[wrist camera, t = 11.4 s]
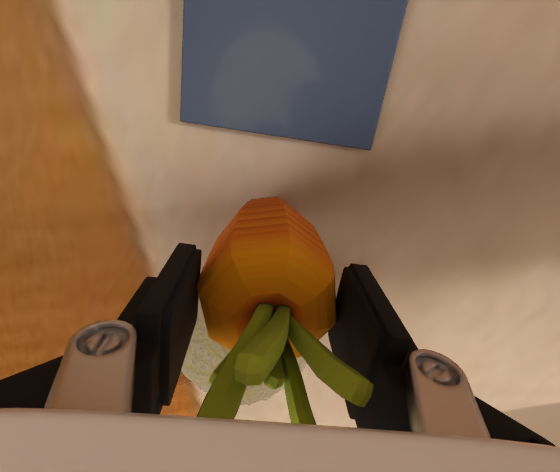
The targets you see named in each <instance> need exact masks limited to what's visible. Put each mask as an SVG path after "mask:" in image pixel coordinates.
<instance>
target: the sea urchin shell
mask: <svg viewBox="0 0 560 472" xmlns="http://www.w3.org/2000/svg"><path fill="white" fill-rule="evenodd" d="M230 351H231V350H229V349H227V348H226V347H224V346H222V345H220V344H219V343H217V342H215V341H213V340H212V339H210V338H209V336H208V332H207V328H206V324H205V319H204V315H203V311H202V307H201V303H200V299H198V314H197V321H196V325H195V328H194V331H193V334H192V338H191V341H190V344H189V347H188V350H187V353H186V356H185V359H184V362H183V366H182V369H181V370H182V373H184V375H185V376H186V377H187V378H188V379H189V380H191V381H192V382H193V383H195V384H196V385H197V386H198V387H199V388H200V389H203V390H204V391H205V392H208V391H209V389H210V387H211V384H210V382H209V378H210V376H211V375H212V373H213V371H214V370H215V369H216V368H217V366H218V365H219V364H220V363H221V362H222V360H223V359H224V358H225V357H226V355H227V354H228V353H229V352H230ZM296 359H297V362H298V365H299V368H300V372H302V370H303V369H304V368H305V365H306V361H305V360H304V358H303V357H298V358H296ZM283 388H285V387H284V382H283V385H282V386H281V387H279V388H277V389H270V388H269V387H267V386H265V385H264V381H263V382H262V384H261V385H253V386H247V388H246V390H245V393H244V396H243V398H242V401H241V404H240V405H244V404H248V405H250V404H252V403H255V402H258V401H261V400H267V398H268V399H269V398H270V397H271V396H272V395H274V394H275V393H277V392H279V391H280V390H282V389H283Z"/></svg>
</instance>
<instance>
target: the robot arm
mask: <svg viewBox="0 0 560 472" xmlns="http://www.w3.org/2000/svg"><path fill="white" fill-rule="evenodd" d="M200 268H201V250H199V249H196V245H191V244H183V243H179V244H178V245H177V247H176V248H175V250H174V252H173V253H172V255H171V256H170V258H169V260H168V261H167V263H166V264H165V266H164V268H163V269H162V271H161V272H160V274H159V275H158V277H157V278H156V277H147V278H146V279H145V280H144V281H143V283H142V284H141V286H140V287H139V289H138V290H137V291H136V293H135V294H134V296H133V297H132V299H131V300H130V302H129V303H128V304H127V306H126V307H125V309H124V310H123V312H122V313H121V315H120V316H119V317H118V319H117V320H103V321H97V322H94V323H91V324H88V325H87V326H85V327H83V328H81V329H79V330H78V331H77V332H76V333H75V334H73V336H72V337H71V339H70V340H69V342H68V345H67V347H66V350H65V353H64V355H63V356H61V357H58V358H56V359H53V360H51V361H48V362H46V363H43V364H41V365H38V366H35V367H33V368H30V369H28V370H25V371H23V372H20V373H17V374H15V375H12V376H10V377H7V378H5V379H2V380H0V472H560V448H559V447H556V446H555V445H554V444H553V443H551V442H549V441H548V440H546V439H545V438H543V437H542V436H540V435H538V434H536V433H535V432H533V431H532V430H530V429H528V428H526V427H525V426H523V425H521V424H520V423H518V422H517V421H515V420H513V419H512V418H510V417H508V416H507V415H505V414H503V413H502V412H500V411H498V410H497V409H495V408H493V407H492V406H490V405H489V404H487V403H485V402H484V401H482V400H480V399H479V398H477V397H475V396H474V395H473V392H472V390H471V387H470V385H469V382H468V380H467V377H466V375H465V374H464V372H463V370H462V369H461V368H460V367H459V366H458V365H457V364H456V363H455V362H453V361H452V360H451V359H449V358H448V357H446V356H444V355H442V354H440V353H437V352H435V351H431V350H426V349H419V350H418V348H417V346H416V345H415V343H414V342H413V340H412V338H411V336H410V335H409V333H408V331H407V330H406V328H405V326H404V325H403V323H402V322H401V320H400V318H399V317H398V315H397V313H396V312H395V310H394V309H393V307H392V305H391V304H390V302H389V300H388V299H387V297H386V296H385V294H384V292H383V291H382V289H381V287H380V286H379V284H378V283H377V281H376V279H375V278H374V276H373V274H372V273H371V271H370V269H369V268H368V266H367V265H359V264H350V265H349V267H345V268H344V269H343V273H342V277H341V281H340V285H339V289H338V293H337V297H336V324H335V325H334V326H333V327H332V328H331V329H330V330H329V331H328V336H329V341H330V345H331V348H332V352H333V354H334V355H335V356H336V357H337V358H339V359H340V360H341V361H343V362H344V363H346V364H347V365H349V366H350V367H352V368H353V369H355V370H356V371H357V372H359V373H360V374H361V375H362V376H364V377H365V378H366V379H367V380H369V381H370V382H371V383H372V384H374V386H373V391H372V395H371V398H370V399H369V401H368V402H367V404H366V405H365V407H361V406H357V405H355V404H353V403H352V402H350V401H348V400H346V399H345V402H346V406H347V410H348V413H349V416H350V418H351V419H355V421H356V425H357V428H351V427H337V426H323V425H309V424H295V423H281V422H266V421H252V420H238V419H222V418H207V417H191V416H176V415H160V412H161V409H162V406H163V405H165V406H169V405H170V403H171V400H172V397H173V394H174V391H175V387H176V384H177V381H178V378H179V375H180V372H181V369H182V366H183V362H184V359H185V356H186V353H187V350H188V347H189V344H190V341H191V338H192V334H193V331H194V328H195V325H196V321H197V314H198V299H199V294H198V289H197V283H198V280H199V277H200Z"/></svg>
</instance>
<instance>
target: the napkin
mask: <svg viewBox="0 0 560 472" xmlns="http://www.w3.org/2000/svg"><path fill="white" fill-rule="evenodd" d="M407 3H408V0H184V14H183V46H182V79H181V111H180V121H182V122H189V123H195V124H202V125H208V126H215V127H221V128H228V129H234V130H241V131H247V132H254V133H260V134H267V135H273V136H280V137H287V138H293V139H300V140H306V141H313V142H319V143H326V144H332V145H339V146H345V147H352V148H358V149H365V150H371V147H372V143H373V139H374V135H375V131H376V127H377V123H378V119H379V115H380V111H381V107H382V103H383V99H384V95H385V91H386V87H387V83H388V79H389V75H390V71H391V67H392V63H393V59H394V55H395V51H396V47H397V43H398V39H399V35H400V31H401V27H402V23H403V19H404V15H405V11H406V7H407Z"/></svg>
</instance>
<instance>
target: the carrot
mask: <svg viewBox="0 0 560 472" xmlns="http://www.w3.org/2000/svg"><path fill="white" fill-rule="evenodd" d="M197 289H198V294H199V299H200V303H201V307H202V311H203V315H204V319H205V324H206V328H207V332H208V336H209V338H210V339H212V340H213V341H215V342H217V343H219V344H220V345H222V346H224V347H226V348H227V349H229V350H231V351H230V352H229V353H228V354H227V355H226V357H225V358H224V359H223V360H222V362H221V363H220V364H219V365H218V366H217V368H216V369H215V370H214V371H213V373H212V375H211V376H210V378H209V382H210V384H211V387H210V389H209V391H208V393H207V394H206V396H205V399H204V401H203V403H202V406H201V408H200V410H199V412H198V415H197V417H207V418H222V419H234V418H235V416H236V414H237V411H238V409H239V406H240V404H241V401H242V398H243V396H244V393H245V390H246V388H247V386H253V385H261V384H262V382H263V381H264V385H265V386H267V387H269V388H270V389H277V388H279V387H281V386H282V385H283V382H284V387H285V393H286V399H287V404H288V410H289V415H290V419H291V423H295V424H309V425H316V422H315V419H314V416H313V413H312V410H311V407H310V404H309V400H308V397H307V393H306V389H305V386H304V382H303V379H302V375H301V372H300V368H299V365H298V362H297V359H296V358H298V357H303V358H304V360H305V361H306V362H307V364H308V365H309V366H310V368H311V369H312V370H313V372H314V373H315V374H316V376H317V377H318V378H319V379H320V380H322V381H323V382H324V383H325V384H326V385H328V386H329V387H330V388H331V389H332V390H334V391H335V392H336V393H337V394H338V395H340V396H341V397H342V398H344V399H346V400H348V401H350V402H352V403H353V404H355V405H357V406H361V407H365V405H366V404H367V402H368V401H369V399H370V398H371V395H372V391H373V386H374V384H372V383H371V382H370V381H369V380H367V379H366V378H365V377H364V376H362V375H361V374H360V373H359V372H357V371H356V370H355V369H353V368H352V367H350V366H349V365H347V364H346V363H344V362H343V361H341V360H340V359H339V358H337V357H336V356H335V355H334V354H333V353H332V352H331V351H330V350H329V349H327V348H326V347H325V346H324V345H323V344H322V343H321V342H320V341H319V339H320V338H321V337H322V336H323V335H325V334H326V333H327V332H328V331H329V330H330V329H331V328H332V327H333V326H334V325H335V324H336V296H335V275H334V266H333V263H332V261H331V259H330V257H329V255H328V252H327V250H326V248H325V246H324V244H323V242H322V240H321V239H320V237H319V235H318V233H317V231H316V230H315V228H314V226H313V225H312V224H311V223H310V222H308V221H307V220H306V219H305V218H304V217H303V216H302V215H300V214H299V213H298V212H297V211H295V210H294V209H293V208H292V207H290V206H289V205H288V204H286V203H285V202H284V201H282V200H281V199H280V198H279V197H268V198H260V199H251V200H250V201H248V202H247V203H246V204H245V205H244V206H243V207H242V208H241V210H240V211H239V212H238V213H237V215H236V216H235V217H234V218H233V220H232V221H231V222H230V223H229V225H228V226H227V227H226V228H225V230H224V231H223V232H222V234H221V235H220V236H219V237H218V239H217V241H216V243H215V245H214V247H213V249H212V250H211V252H210V254H209V256H208V259H207V261H206V263H205V265H204V267H203V270H202V272H201V274H200V277H199V280H198V283H197Z"/></svg>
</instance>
